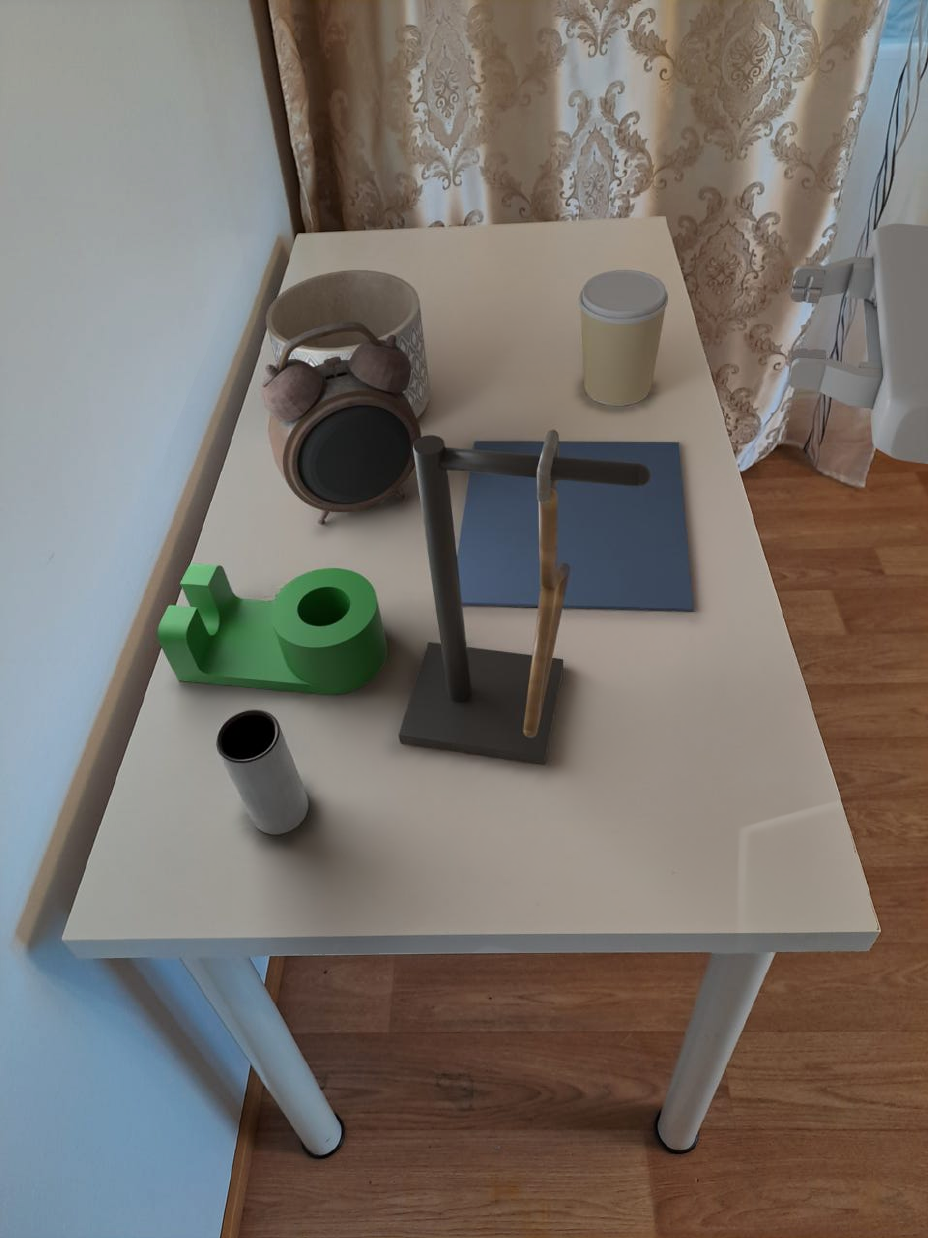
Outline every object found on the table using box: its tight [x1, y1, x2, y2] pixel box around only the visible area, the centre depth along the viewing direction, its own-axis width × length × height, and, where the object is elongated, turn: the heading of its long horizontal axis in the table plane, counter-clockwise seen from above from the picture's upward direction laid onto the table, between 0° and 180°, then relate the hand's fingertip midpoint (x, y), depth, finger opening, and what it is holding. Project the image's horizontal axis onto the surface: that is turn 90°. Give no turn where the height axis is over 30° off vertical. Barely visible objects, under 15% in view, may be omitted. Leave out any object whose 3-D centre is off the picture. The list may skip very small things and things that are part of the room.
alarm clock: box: [260, 322, 422, 525], centre depth 87 cm, size 14×7×20 cm, turn 112°
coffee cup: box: [578, 269, 669, 407], centre depth 100 cm, size 9×9×12 cm
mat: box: [457, 440, 694, 612], centre depth 90 cm, size 22×24×1 cm
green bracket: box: [157, 563, 388, 696], centre depth 79 cm, size 18×9×6 cm, turn 80°
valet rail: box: [398, 434, 650, 765], centre depth 65 cm, size 18×10×27 cm, turn 77°
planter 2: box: [265, 269, 431, 420], centre depth 101 cm, size 16×16×13 cm
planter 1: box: [215, 709, 309, 835], centre depth 67 cm, size 4×4×10 cm
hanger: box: [523, 429, 570, 738], centre depth 62 cm, size 1×17×19 cm, turn 167°
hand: (791, 323), depth 55 cm, fingers open, 8 cm apart
